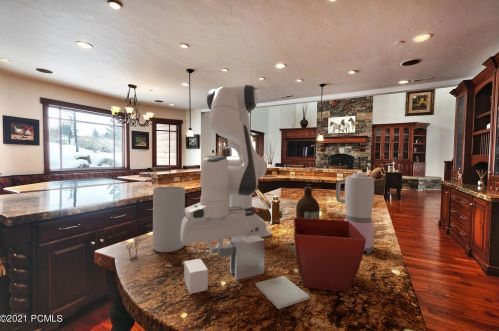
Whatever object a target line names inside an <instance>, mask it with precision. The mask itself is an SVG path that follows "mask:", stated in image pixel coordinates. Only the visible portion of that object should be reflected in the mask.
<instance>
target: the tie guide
mask: <svg viewBox="0 0 499 331" xmlns="http://www.w3.org/2000/svg"><path fill="white" fill-rule="evenodd" d="M229 240H230V241H229V242H230V243H229V245H231V244H233V245H235V254H234V255H229V273H230V275H233V274H234V280H235V281H237V280H241V279H246V278H250V277H251V278H252V277H254V276H259V275H262V274H263V275H264V274H265V243H266V242H265V239H264V238H263V237H262V238H261V237H259V236H257V235H256V236H249V237H242V238H236V239H232V238H230V239H229Z"/></svg>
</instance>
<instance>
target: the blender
mask: <svg viewBox="0 0 499 331" xmlns="http://www.w3.org/2000/svg"><path fill="white" fill-rule="evenodd" d="M376 179H377V178H374V177H372V176H367V173H352V175H347V176H346V177H345V179H339V180H338V181H337V182H336V186H335V190H336V191H335V198H336V199H335V200H336V201H337V202H338V203H341V204H345V212H346V215H345V218H344V220H343V221H350V222H351V223H352V224H353V225H354V227H355V228H356V229H357V230H358V231H359V232H360V233H361V234H362V235H363V236H364V237H365V238H366V243H365V248H364V252H366V254H371V253H372V251H373V250H374V249H375V224H374V222H373V220H372V212H373V207H374V201H375V180H376ZM342 184H344V198H341V185H342Z"/></svg>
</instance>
